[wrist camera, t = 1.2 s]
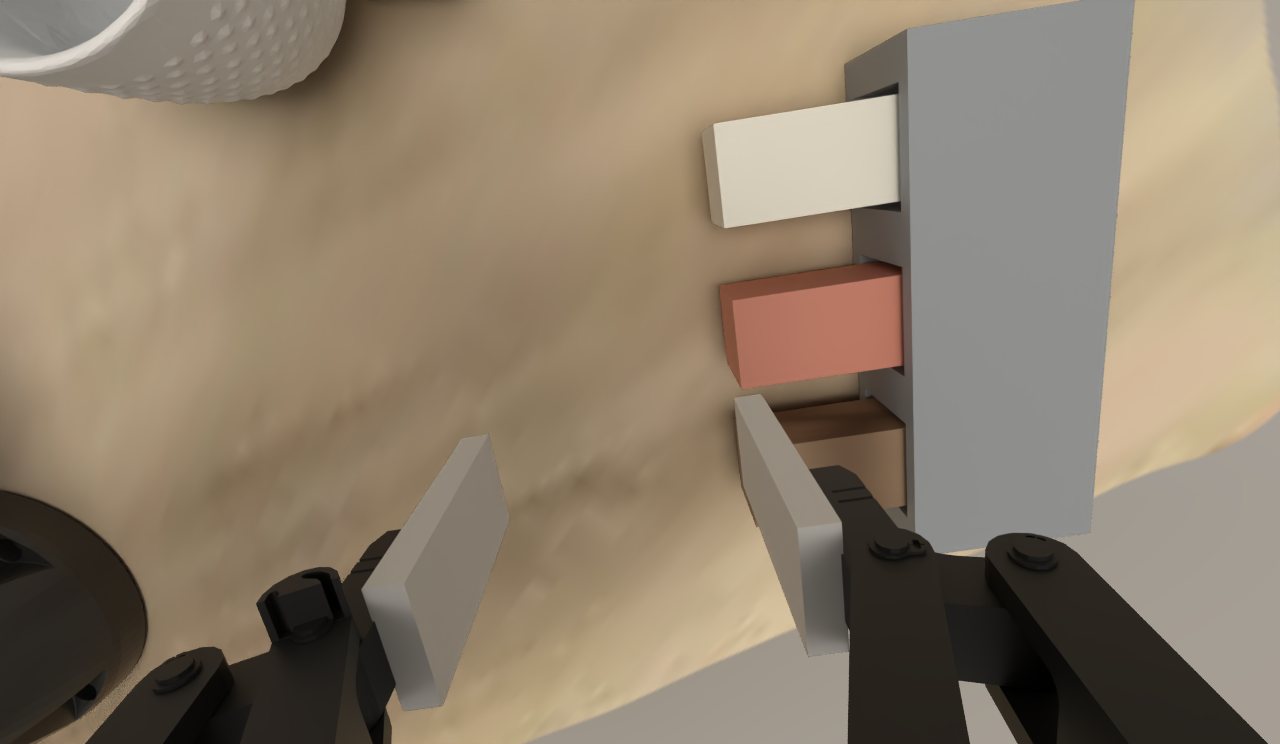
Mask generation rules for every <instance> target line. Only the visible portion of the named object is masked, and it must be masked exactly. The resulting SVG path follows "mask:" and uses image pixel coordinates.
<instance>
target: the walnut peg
mask: <svg viewBox="0 0 1280 744" xmlns="http://www.w3.org/2000/svg"><path fill="white" fill-rule="evenodd" d="M773 414H774V415H775V417H776V418H777V420H778V422H779V423H780V425H781V426H782V428H783V430H784V431H785V433H786V434H787V436H788V437H789V439H790V441H791V442H792V444H793V445H794V447H795V449H796V450H797V452H798V453H799V455H800V457H801V458H802V460H803V461H804V463H805V464H806V466H807V468H808V469H814V468H821V467H828V466H835V465H840V466H842V467H844V468H846V469H847V470H849V471H851V472H853V473H855V474H856V475H857V476H858V477H859V479H860V480H861V481H862V482H863V484H864V485H865V487H866V488H867V489H868V490H869V491H870V493H871V494H872V495H873V498H875V499H876V500H877V501H878V503H879V504H880V505H881V507H882V508H883V509H886V508H893V507H901V506H907V468H906V424H905V423H904V422H903V421H902V420H901V419H899V418H898V417H897V416H896V415H895V414H894V413H893V412H891V411H890V410H889V409H888V408H887V407H886V406H884V405H883V404H882V403H881V402H880V401H879V400H878V399H876V398H869V399H862V400H855V401H849V402H842V403H835V404H828V405H821V406H814V407H808V408H801V409H794V410H787V411H780V412H773ZM734 425H735V434H736V442H737V451H738V460H739V469H740V478H741V487H742V489H743V492H744V495H745V497H746V500H747V503H748V506H749V508H750V511H751V514H752V516H753V519H754V522H755V525H756V527H758V523H757V521H756V518H755V515H754V513H753V510H752V507H751V505H750V502H749V499H748V497H747V494H746V491H745V489H744V486H743V477H742V468H741V459H740V450H739V442H738V433H737V424H736V418H734Z"/></svg>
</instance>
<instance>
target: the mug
mask: <svg viewBox="0 0 1280 744" xmlns="http://www.w3.org/2000/svg"><path fill="white" fill-rule="evenodd" d="M345 4H346V0H0V76H1V77H7V78H12V79H18V80H24V81H30V82H36V83H38V84H41V85H44V86H60V87H66V88H71V89H75V90H78V91H82V92H85V93H103V94H109V95H113V96H116V97H119V98H123V99H128V98H140V99H146V100H149V101H152V102H160V101H170V102H174V103H178V104H187V103H192V102H195V103H202V104H212V103H215V102H229V103H232V102H235V101H238V100H242V99H247V100H254V99H256V98H258V97H260V96H262V95H272V94H274V93H276V92H277V91H279V90H285V89H288V88H289V87H290V86H292V85H293V84H294V83H297V82H300V81H303V80H304V79H305V78H306V77H307V76H308V75H309V74H310V73H312V72H313V71H315V70H317V68H318V67H319V65H320V64H321V63H322V61H323V60H324V59H325V58H326V57H328V56H329V54H330V51H331V49H332V48H333V46H334V44H335V42H336V40H337V38H338V35H339V33H340V30H341V27H342V23H343V20H344V13H345Z"/></svg>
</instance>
